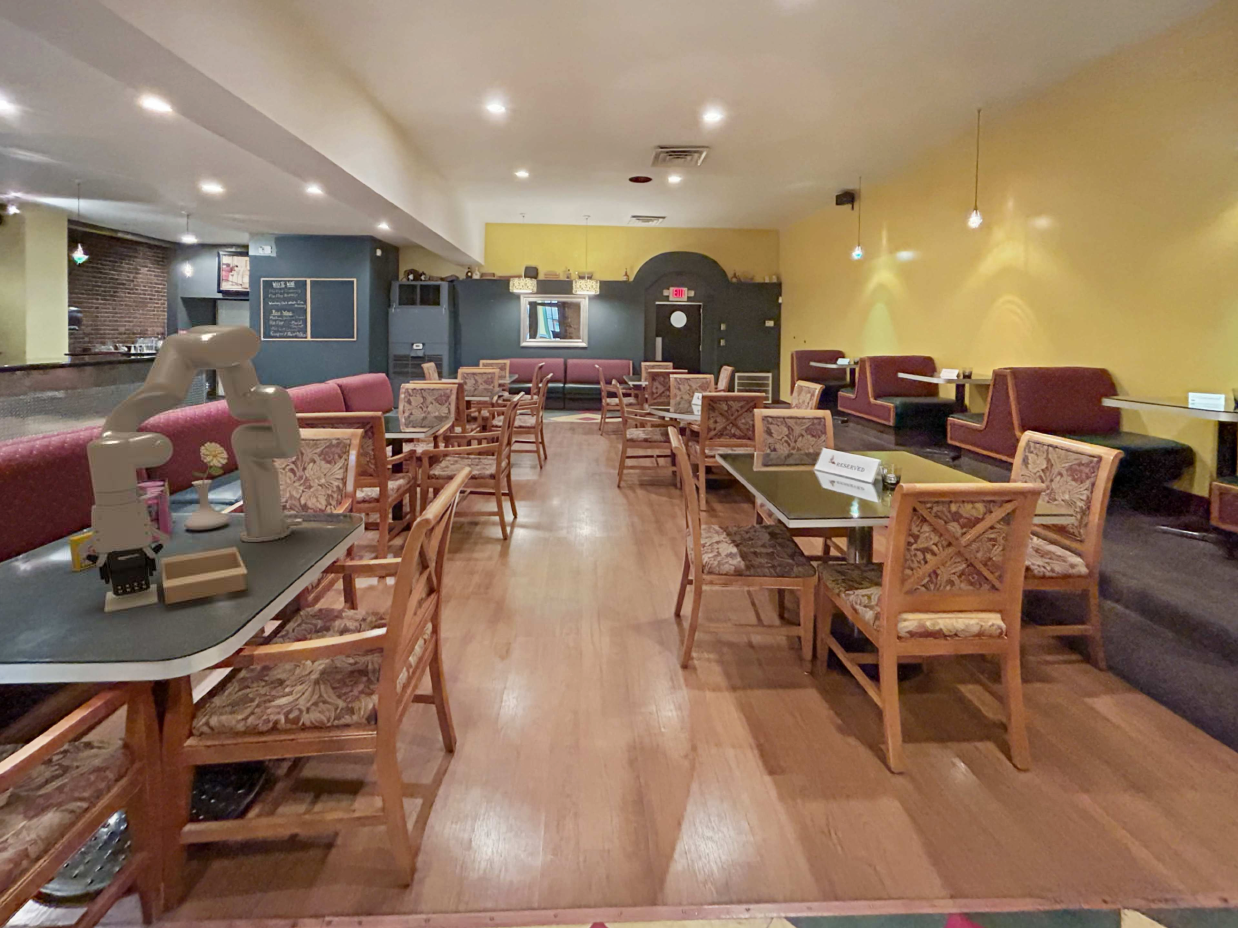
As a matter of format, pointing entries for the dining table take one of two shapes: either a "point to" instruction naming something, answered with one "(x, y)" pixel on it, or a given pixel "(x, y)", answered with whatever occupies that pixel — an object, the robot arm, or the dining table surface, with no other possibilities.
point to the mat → (131, 599)
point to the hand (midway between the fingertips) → (129, 577)
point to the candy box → (77, 559)
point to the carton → (203, 574)
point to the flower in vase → (205, 513)
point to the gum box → (158, 504)
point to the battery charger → (128, 571)
